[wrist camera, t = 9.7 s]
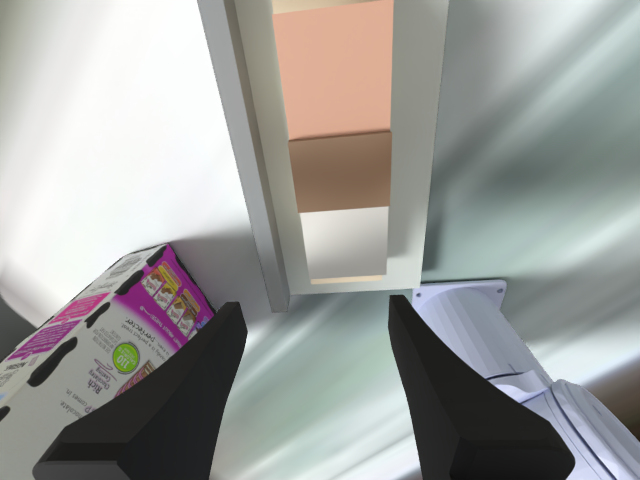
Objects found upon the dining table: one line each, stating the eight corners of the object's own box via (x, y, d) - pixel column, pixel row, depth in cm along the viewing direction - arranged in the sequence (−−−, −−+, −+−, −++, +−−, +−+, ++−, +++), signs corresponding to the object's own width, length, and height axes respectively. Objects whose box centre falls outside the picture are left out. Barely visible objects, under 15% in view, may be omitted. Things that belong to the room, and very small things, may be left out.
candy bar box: (121, 254, 25) (-171, 493, 10) (169, 240, 24) (-77, 478, 9) (188, 339, 30) (56, 576, 15) (229, 329, 29) (130, 572, 14)
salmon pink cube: (375, 119, 14) (390, 130, 11) (299, 126, 15) (289, 140, 11) (375, 22, 12) (393, -2, 9) (287, 33, 13) (271, 14, 9)
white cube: (375, 237, 18) (386, 274, 14) (313, 241, 18) (309, 279, 15) (375, 176, 16) (388, 202, 12) (306, 182, 16) (299, 209, 13)
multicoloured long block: (376, 260, 22) (395, 329, 15) (313, 264, 22) (306, 333, 16) (378, -63, 13) (422, -195, 7) (272, -47, 13) (223, -160, 7)
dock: (413, 273, 25) (427, 304, 21) (280, 281, 25) (272, 312, 22) (449, -145, 13) (493, -230, 9) (200, -104, 14) (156, -168, 10)
